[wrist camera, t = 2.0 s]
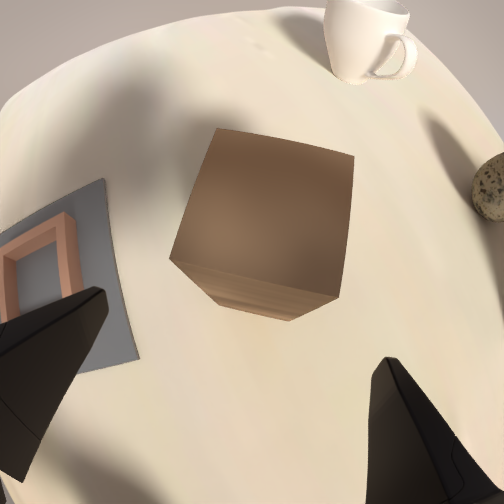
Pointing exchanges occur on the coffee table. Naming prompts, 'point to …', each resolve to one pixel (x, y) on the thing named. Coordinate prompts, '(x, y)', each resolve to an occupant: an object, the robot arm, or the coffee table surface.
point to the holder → (67, 268)
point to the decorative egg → (490, 189)
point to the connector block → (267, 224)
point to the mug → (366, 38)
